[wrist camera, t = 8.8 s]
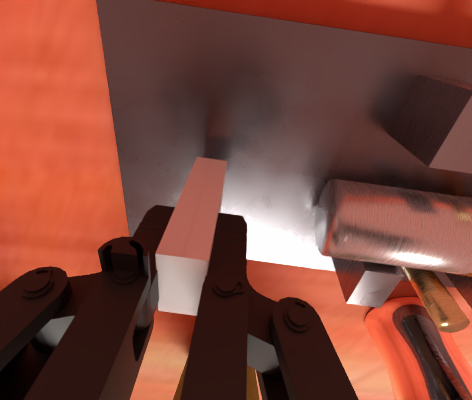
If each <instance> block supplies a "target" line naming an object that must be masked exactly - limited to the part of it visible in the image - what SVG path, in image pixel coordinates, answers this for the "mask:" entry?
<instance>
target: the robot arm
mask: <svg viewBox="0 0 472 400" xmlns="http://www.w3.org/2000/svg"><path fill="white" fill-rule="evenodd" d="M226 167H227V161H223V160H216V159H210V158H203V157H197V158H196V160H195V162H194V165H193V167H192V169H191V172H190V174H189V176H188V179H187V181H186V183H185V186H184V188H183V190H182V193H181V195H180V197H179V200H178V202H177V204H176V207H171V206H163V205H155V206H154V207H152V208H151V209H149V210H148V211H147V212H146V214H145V215H144V217H143V219H142V222H140V224H139V226H138V229H136V231H135V233H134V235H133V236H132V237H120V238H116V239H112V240H110V241H108V242H107V243H105V244H103V245H102V246H101V247H100V248H99V249H98V254H99V258H100V263H101V267H102V271H101V272H99V273H95V274H90V275H82V276H74V277H67V274H66V272H65V271H63V270H62V269H60V268H57V267H51V266H50V267H42V268H37V269H35V270H32V271H29V272H27V273H25V274H24V275H22V276H20V277H19V278H17V279H16V280H14V281H13V282H12V283H11V284H9V285H8V286H7V287H5V288H4V289H3V290H2V291H0V400H130V397H131V394H132V391H133V388H134V384H135V381H136V378H137V375H138V372H139V369H140V366H141V363H142V360H143V357H144V354H145V351H146V348H147V345H148V342H149V339H150V336H151V333H152V330H153V324H154V313H155V310H156V307H157V304H158V311H163V312H171V313H179V314H187V315H194V316H196V321H195V326H194V331H193V336H192V341H191V346H190V352H189V357H188V362H187V367H186V372H185V377H184V382H183V387H182V392H181V397H180V400H246V396H247V365H248V366H250V367H252V368H254V369H256V373H257V377H258V382H259V386H260V391H261V395H262V400H358V397H357V395H356V393H355V391H354V389H353V387H352V385H351V383H350V380H349V378H348V376H347V374H346V372H345V370H344V368H343V366H342V363H341V361H340V359H339V357H338V355H337V353H336V351H335V349H334V347H333V344H332V342H331V340H330V338H329V336H328V334H327V332H326V330H325V327H324V325H323V323H322V321H321V319H320V317H319V315H318V314H317V312H316V311H315V309H314V308H313V307H312V306H310V305H309V304H308V303H307V302H305V301H303V300H301V299H298V298H292V297H287V298H284V299H281V300H279V301H278V302H276V301H273V300H271V299H269V298H267V297H264V296H263V295H261V294H259V293H258V292H256V291H255V290H254V289H253V288H252V287H251V285H250V284H249V282H248V279H247V275H246V263H247V223H246V221H245V219H244V217H243V216H240V215H233V214H226V213H220V212H221V206H222V198H223V191H224V183H225V175H226Z"/></svg>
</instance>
